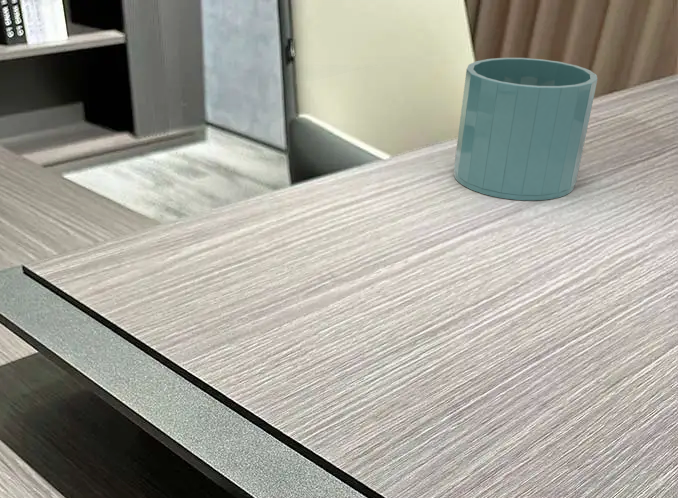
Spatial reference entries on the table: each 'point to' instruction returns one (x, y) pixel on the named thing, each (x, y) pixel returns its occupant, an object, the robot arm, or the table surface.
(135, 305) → the table surface
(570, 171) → the canister
